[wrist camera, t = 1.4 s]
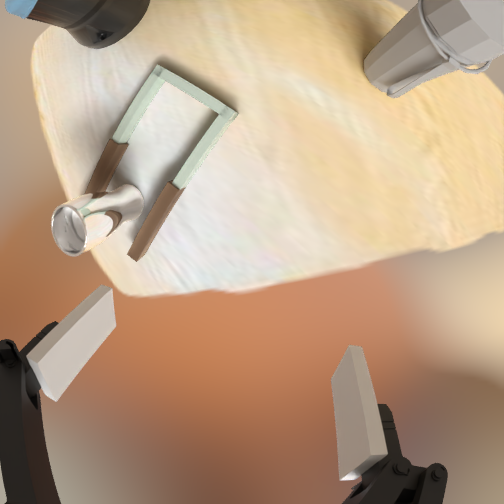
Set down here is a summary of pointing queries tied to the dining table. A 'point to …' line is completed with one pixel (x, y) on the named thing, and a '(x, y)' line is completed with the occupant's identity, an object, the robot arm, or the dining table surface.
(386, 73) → the water bottle
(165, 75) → the pale green u-shaped frame
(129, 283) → the dining table surface
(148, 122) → the dining table surface
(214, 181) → the dining table surface
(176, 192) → the slot rails
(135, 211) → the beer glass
